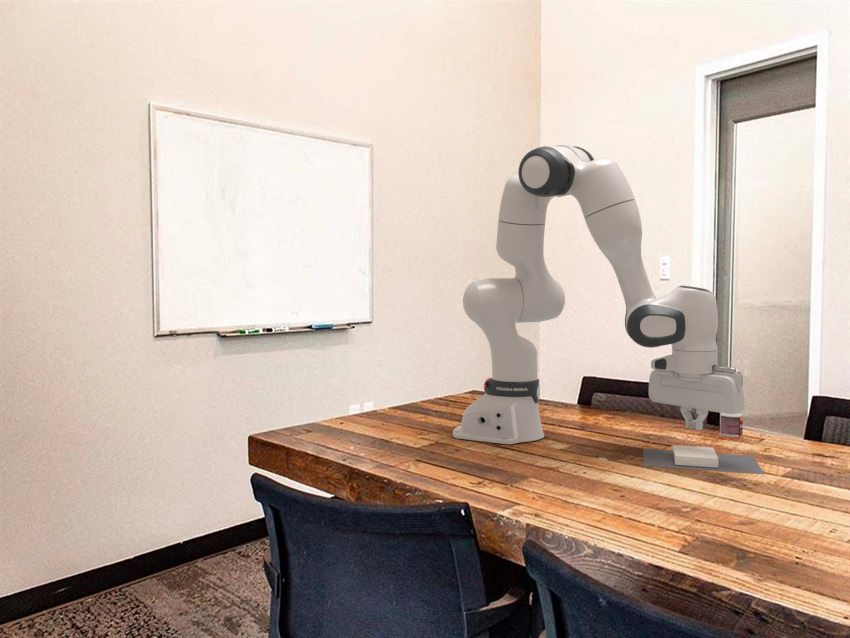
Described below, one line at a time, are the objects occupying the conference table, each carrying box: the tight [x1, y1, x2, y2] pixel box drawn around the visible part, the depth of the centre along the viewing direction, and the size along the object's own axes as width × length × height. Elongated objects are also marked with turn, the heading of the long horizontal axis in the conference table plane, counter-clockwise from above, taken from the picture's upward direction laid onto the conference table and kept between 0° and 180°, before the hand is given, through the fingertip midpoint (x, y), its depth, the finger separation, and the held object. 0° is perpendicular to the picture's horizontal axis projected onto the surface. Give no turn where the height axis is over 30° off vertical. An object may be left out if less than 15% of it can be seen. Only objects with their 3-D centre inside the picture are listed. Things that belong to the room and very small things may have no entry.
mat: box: [642, 448, 765, 476], centre depth 134 cm, size 22×14×1 cm, turn 72°
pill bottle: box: [719, 412, 744, 441], centre depth 153 cm, size 5×5×8 cm
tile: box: [672, 444, 718, 468], centre depth 133 cm, size 8×2×9 cm
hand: (694, 429), depth 136 cm, fingers closed
